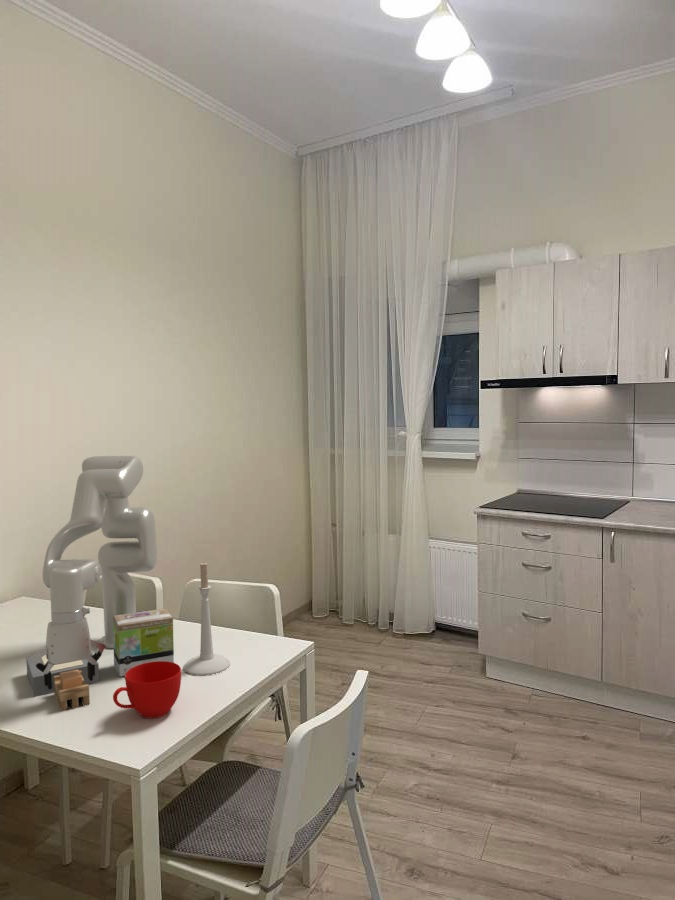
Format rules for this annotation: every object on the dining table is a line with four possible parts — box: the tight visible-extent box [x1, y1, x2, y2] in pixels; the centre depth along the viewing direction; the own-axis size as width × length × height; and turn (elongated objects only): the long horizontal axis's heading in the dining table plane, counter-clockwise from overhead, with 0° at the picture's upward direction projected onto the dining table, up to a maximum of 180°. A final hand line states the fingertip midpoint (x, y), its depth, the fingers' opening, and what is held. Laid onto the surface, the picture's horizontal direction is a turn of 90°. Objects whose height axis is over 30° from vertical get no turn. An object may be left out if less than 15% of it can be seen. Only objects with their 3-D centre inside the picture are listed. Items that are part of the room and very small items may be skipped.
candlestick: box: [183, 562, 231, 677], centre depth 183 cm, size 13×13×30 cm
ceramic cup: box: [112, 661, 182, 719], centre depth 155 cm, size 13×17×10 cm
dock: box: [26, 651, 100, 697], centre depth 177 cm, size 16×16×5 cm
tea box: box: [113, 608, 175, 678], centre depth 184 cm, size 15×10×15 cm
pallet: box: [53, 671, 91, 712], centre depth 165 cm, size 7×11×5 cm, turn 31°
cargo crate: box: [60, 669, 82, 690], centre depth 164 cm, size 4×5×3 cm
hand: (70, 683), depth 164 cm, fingers open, 9 cm apart
